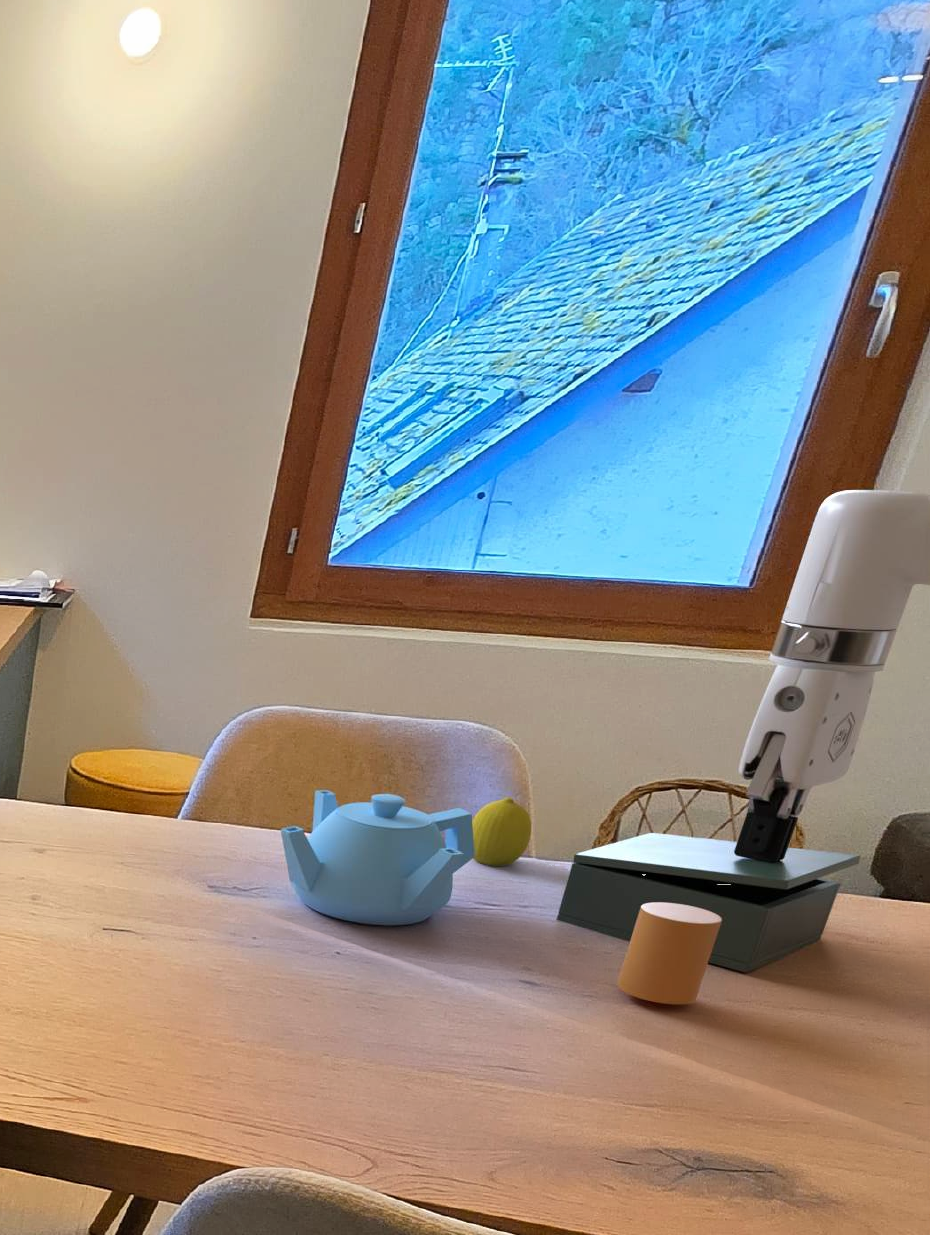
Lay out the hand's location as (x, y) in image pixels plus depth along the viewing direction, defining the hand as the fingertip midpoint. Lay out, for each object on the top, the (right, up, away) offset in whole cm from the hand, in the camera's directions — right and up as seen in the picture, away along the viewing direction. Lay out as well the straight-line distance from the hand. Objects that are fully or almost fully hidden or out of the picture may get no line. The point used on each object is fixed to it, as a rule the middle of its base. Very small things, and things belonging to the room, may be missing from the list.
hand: (757, 857), depth 125 cm
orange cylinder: (-15, -12, -8) cm, 21 cm away
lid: (-2, 0, +3) cm, 3 cm away
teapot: (-29, -3, +12) cm, 31 cm away
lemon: (-9, +1, +24) cm, 25 cm away
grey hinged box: (-2, -6, +6) cm, 9 cm away
